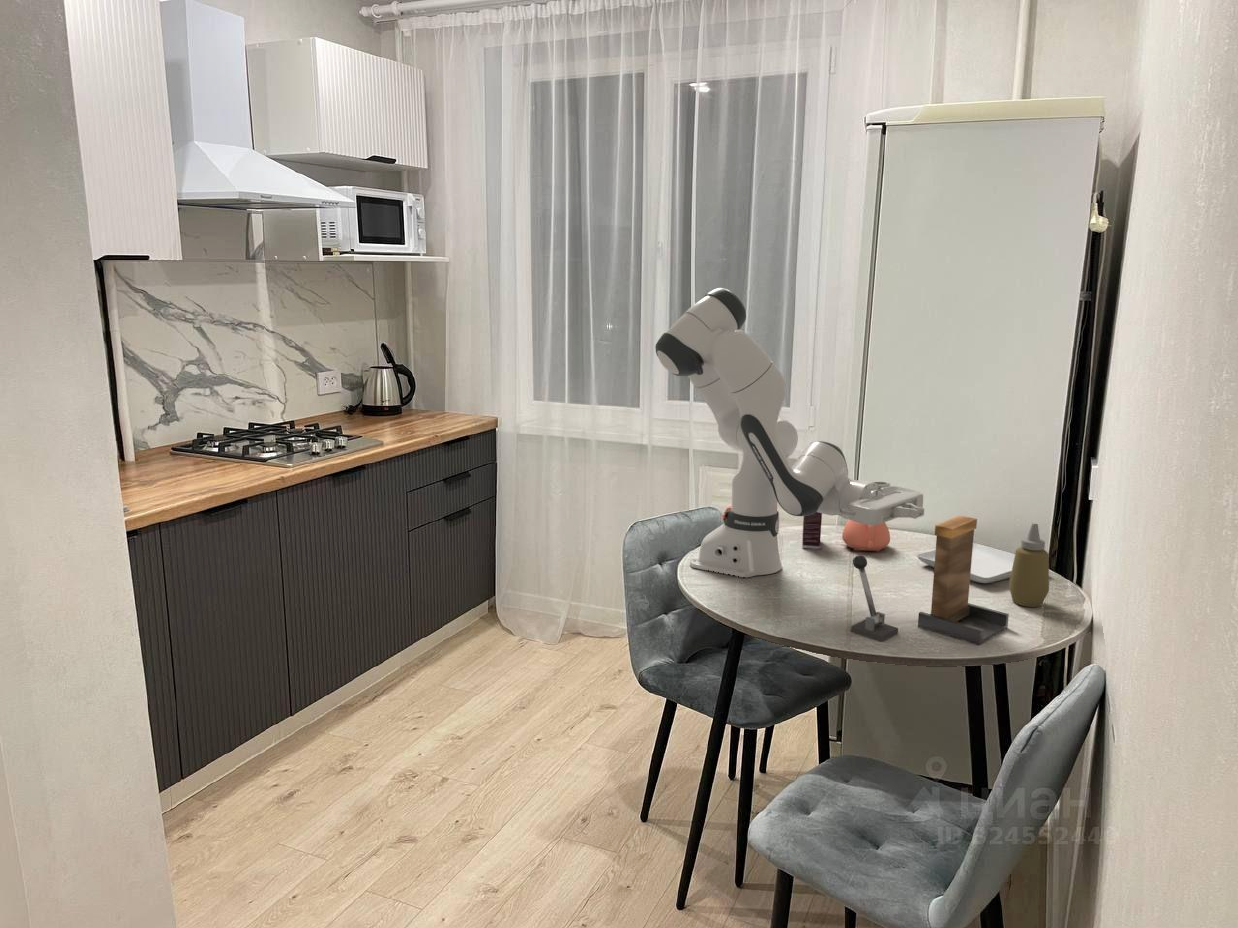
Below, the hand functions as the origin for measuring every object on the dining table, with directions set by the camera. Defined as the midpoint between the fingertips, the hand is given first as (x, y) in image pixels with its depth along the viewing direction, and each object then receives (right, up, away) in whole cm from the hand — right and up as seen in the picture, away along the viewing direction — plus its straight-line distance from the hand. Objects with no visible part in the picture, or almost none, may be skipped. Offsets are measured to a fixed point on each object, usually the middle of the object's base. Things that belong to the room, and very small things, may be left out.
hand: (920, 513), depth 184 cm
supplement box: (-11, -11, +54) cm, 56 cm away
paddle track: (+8, -23, -2) cm, 24 cm away
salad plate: (+25, -16, +33) cm, 45 cm away
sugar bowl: (+3, -12, +51) cm, 52 cm away
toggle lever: (-11, -21, -5) cm, 25 cm away
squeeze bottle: (+27, -20, +11) cm, 36 cm away
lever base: (-11, -24, -5) cm, 27 cm away
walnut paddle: (+6, -22, 0) cm, 22 cm away
